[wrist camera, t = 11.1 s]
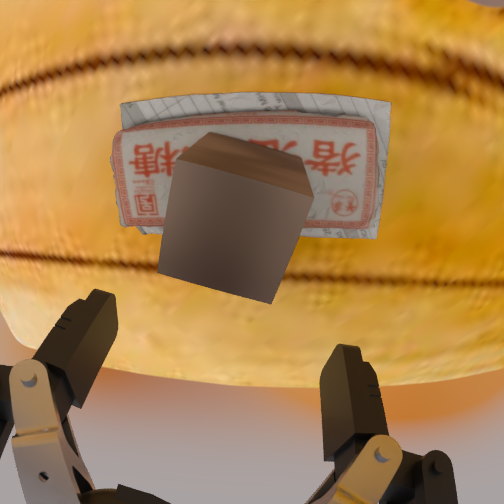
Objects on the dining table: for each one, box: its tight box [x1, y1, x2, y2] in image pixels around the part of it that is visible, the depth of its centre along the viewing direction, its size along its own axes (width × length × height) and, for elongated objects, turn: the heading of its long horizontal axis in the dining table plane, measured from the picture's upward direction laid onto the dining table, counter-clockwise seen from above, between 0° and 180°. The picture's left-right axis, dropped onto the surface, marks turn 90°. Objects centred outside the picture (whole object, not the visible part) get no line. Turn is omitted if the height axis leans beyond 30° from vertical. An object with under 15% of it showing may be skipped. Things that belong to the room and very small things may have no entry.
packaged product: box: [110, 92, 391, 239], centre depth 19 cm, size 18×5×10 cm
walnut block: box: [157, 132, 314, 304], centre depth 14 cm, size 5×5×6 cm
